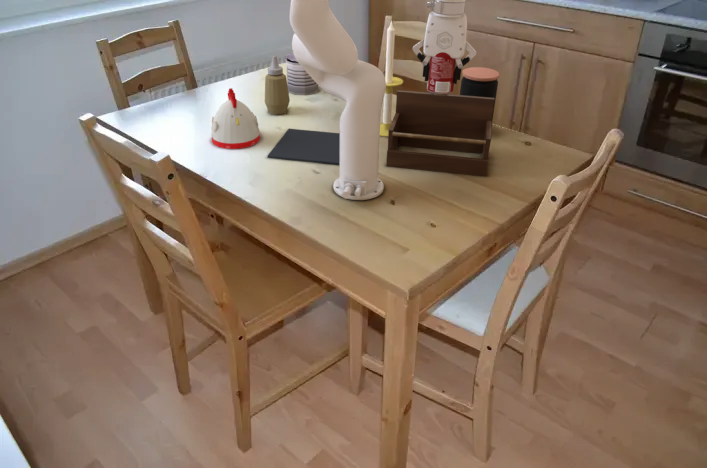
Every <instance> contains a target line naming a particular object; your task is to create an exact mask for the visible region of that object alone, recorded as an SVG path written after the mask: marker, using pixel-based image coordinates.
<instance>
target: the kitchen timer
mask: <svg viewBox="0 0 707 468" xmlns="http://www.w3.org/2000/svg"><path fill="white" fill-rule="evenodd" d="M227 98H228V100H226V101H225V102H223V103H222V104H221V105H220V106H219V108H218V109H217V110H216V112H215V114H214V116H212V117H211V125H210V126H211V127H210V128H211V141H212V144H213V145H214V146H215V147H218V148H222V149H226V150H227V149H228V150H241V149H246V148H250V147H252V146H254V145H256V144H258V143H259V142H260V140H261V133H260V127H259V122H258V119H257V115H255V114H254V112H253V111H252V110H251V109H250V107H248V106H247V105H246V103H244V102H242V101H240V100H238V99H237V98H236V92H234V90H233V87H232V88H231V87H230V88H228V90H227Z"/></svg>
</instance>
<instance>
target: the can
mask: <svg viewBox="0 0 707 468" xmlns="http://www.w3.org/2000/svg"><path fill="white" fill-rule="evenodd" d="M284 58H285V65H286V79H287V86H288V92H289V94H293V95H296V96H297V95H299V96H307V95H313V94H316V93H317V92H319V89H320V88H319V87H320V86H319V85H318V84H317V83H316V82H315V81H314V80H313V79H312V78H311V76H310V75H309V74H308V73H307V72H306V71H305V70H304V69H303V67H302V66H301V65H300V64H299V63H298V61H297V60H296V58H295V56H294V53H293V52H291V53H287V54H286V55H285V56H284Z"/></svg>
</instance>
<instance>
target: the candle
mask: <svg viewBox="0 0 707 468" xmlns="http://www.w3.org/2000/svg"><path fill="white" fill-rule="evenodd" d="M395 34H396V29H395V28H394V24H393V21H392V19H391V21H390V24H389V26H388V28H387V29H386V51H385V52H386V54H385V72H384V73H385V74H384V77H385V80H386V90H385V95H384V99H383V105H382V109H383V111H382V122H380V135H379V137H385V138H386V137H387V138H388V133H389V128H390V125H391V123H392V111H393V92H394V91H393V90H394V88H395V87H399V86H402V85H403V84H404V80H403V79H402V78H400V77H398V76H394V56H395V39H396V37H395V36H396V35H395Z"/></svg>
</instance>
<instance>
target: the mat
mask: <svg viewBox="0 0 707 468" xmlns="http://www.w3.org/2000/svg"><path fill="white" fill-rule="evenodd" d="M267 158H268V159H277V160H287V161H295V162H305V163H316V164H324V165H334V166H340V132H331V131H330V132H329V131H318V130H310V129H309V130H308V129H299V128H298V129H297V128H288V129H287V130H286V131H285V133H284V134H283V135H282V136H281V138H280V139H279V140H278V142H277V143H276V144H275V146H274V147H273V148H272V149H271V151H270V152H269V153H268V154H267Z"/></svg>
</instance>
